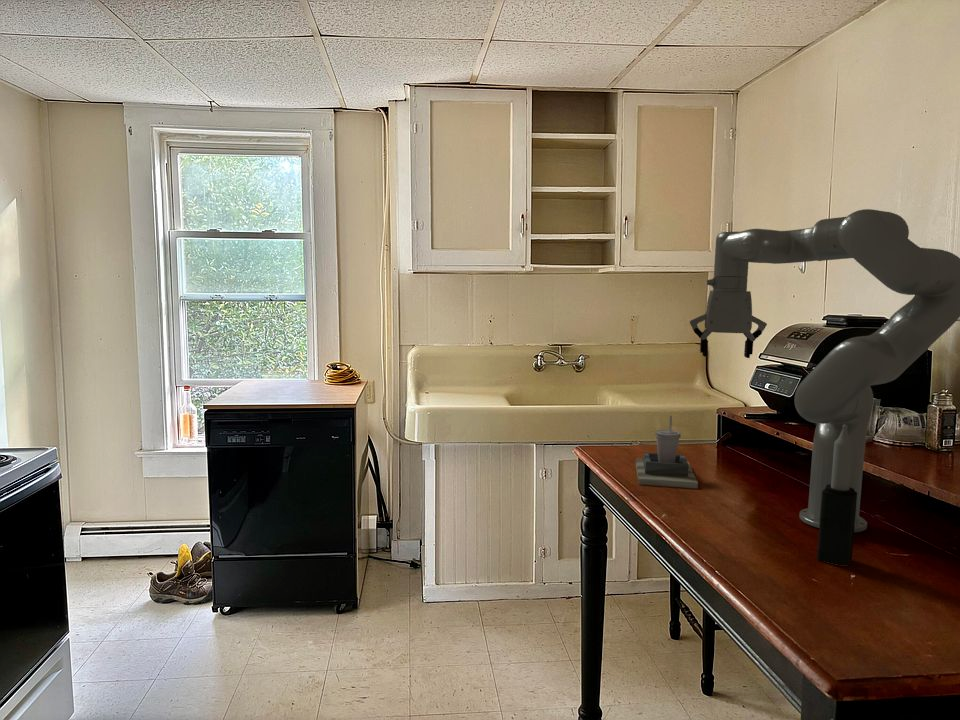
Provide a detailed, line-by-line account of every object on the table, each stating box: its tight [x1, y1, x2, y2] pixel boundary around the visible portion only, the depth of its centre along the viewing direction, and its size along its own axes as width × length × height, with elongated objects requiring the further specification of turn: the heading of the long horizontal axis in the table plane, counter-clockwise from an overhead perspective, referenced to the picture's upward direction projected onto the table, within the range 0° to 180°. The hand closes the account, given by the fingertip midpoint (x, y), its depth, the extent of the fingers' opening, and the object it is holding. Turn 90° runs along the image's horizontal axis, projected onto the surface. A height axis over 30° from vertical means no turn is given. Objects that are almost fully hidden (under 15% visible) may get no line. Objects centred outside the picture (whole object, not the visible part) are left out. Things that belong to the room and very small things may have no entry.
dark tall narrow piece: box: [816, 425, 857, 566], centre depth 121 cm, size 5×5×25 cm
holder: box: [635, 451, 699, 490], centre depth 174 cm, size 20×14×4 cm
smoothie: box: [654, 415, 681, 463], centre depth 174 cm, size 6×6×14 cm
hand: (725, 356), depth 161 cm, fingers open, 9 cm apart
